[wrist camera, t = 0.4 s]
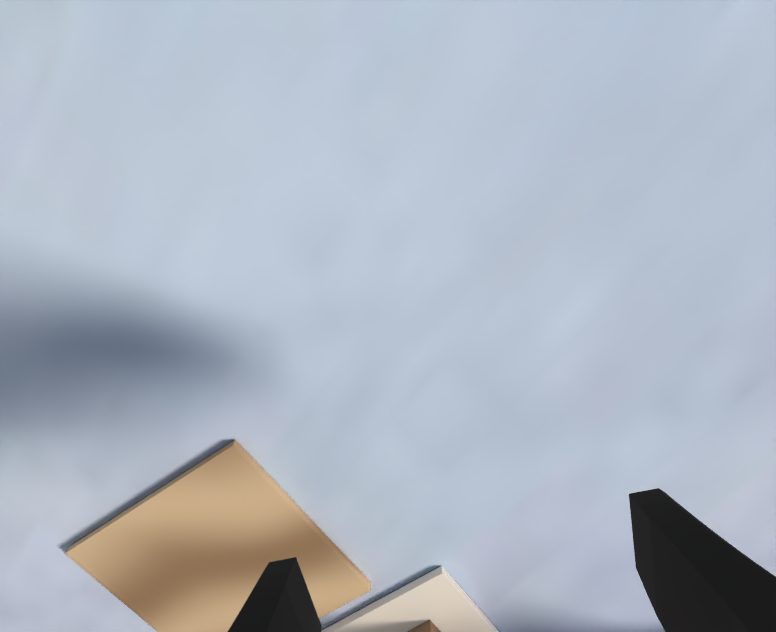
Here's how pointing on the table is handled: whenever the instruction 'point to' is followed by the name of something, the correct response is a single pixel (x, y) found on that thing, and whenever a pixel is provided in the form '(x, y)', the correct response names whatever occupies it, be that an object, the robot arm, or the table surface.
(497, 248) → the table surface
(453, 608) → the card
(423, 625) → the walnut block
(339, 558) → the cork mat
